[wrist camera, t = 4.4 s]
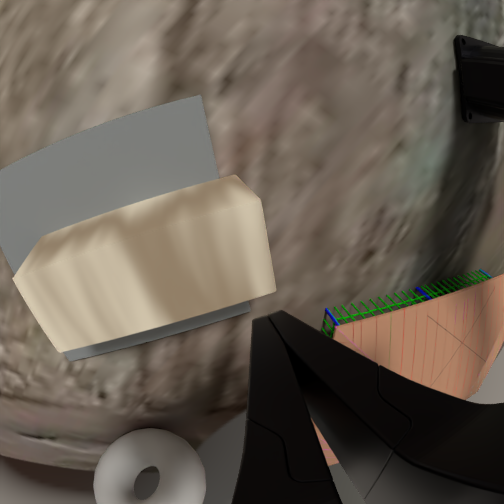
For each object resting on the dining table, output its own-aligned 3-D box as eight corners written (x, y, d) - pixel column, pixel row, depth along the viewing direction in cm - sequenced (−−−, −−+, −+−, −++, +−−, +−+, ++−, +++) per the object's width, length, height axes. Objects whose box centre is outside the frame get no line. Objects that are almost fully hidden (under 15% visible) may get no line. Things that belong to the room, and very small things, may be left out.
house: (273, 303, 20) (330, 404, 13) (519, 248, 28) (564, 280, 21) (260, 458, 30) (283, 517, 23) (458, 378, 38) (487, 410, 31)
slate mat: (199, 94, 12) (200, 94, 12) (248, 307, 18) (250, 311, 18) (-21, 182, 11) (-25, 184, 10) (70, 357, 17) (69, 361, 16)
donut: (180, 404, 21) (206, 525, 13) (201, 423, 23) (229, 530, 14) (85, 435, 20) (87, 537, 12) (109, 451, 22) (118, 545, 14)
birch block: (260, 199, 11) (12, 278, 9) (276, 291, 13) (59, 352, 11) (235, 174, 14) (41, 236, 13) (250, 248, 16) (73, 301, 15)
